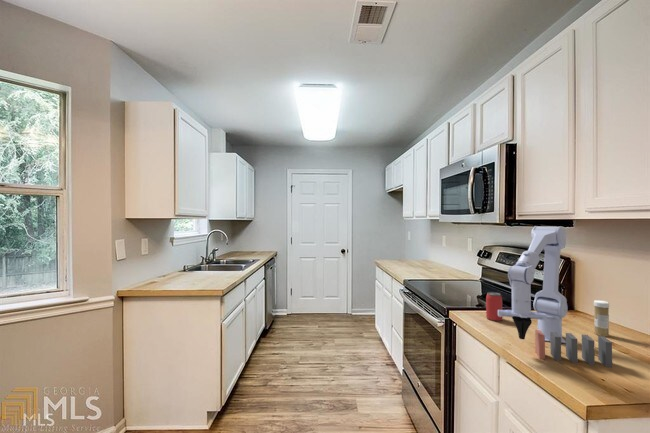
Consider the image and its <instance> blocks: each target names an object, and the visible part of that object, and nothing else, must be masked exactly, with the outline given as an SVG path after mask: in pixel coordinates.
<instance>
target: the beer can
mask: <svg viewBox="0 0 650 433" xmlns="http://www.w3.org/2000/svg"><path fill="white" fill-rule="evenodd" d="M485 303H486V304H485V311H486V313H485V315H486V316H485V317H486V318H487V319H488V320H489V321H494V322H500V321H502V320H503V316H502V317H499V316H498V310H503V298H502V294H501V293H500V292H495V291H488V292H487V294H486V297H485Z"/></svg>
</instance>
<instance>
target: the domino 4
mask: <svg viewBox="0 0 650 433" xmlns="http://www.w3.org/2000/svg"><path fill="white" fill-rule="evenodd" d="M597 340H598V341H597V343H598V346H597V349H598V350H597V352H598V356H597V357H598V361H599V362H600V363H601V364H603V366H604V367H605V368H613V342H612V341H610V340H609V339H608V338H607V337H604V336H599V335H597Z"/></svg>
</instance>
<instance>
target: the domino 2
mask: <svg viewBox="0 0 650 433" xmlns="http://www.w3.org/2000/svg"><path fill="white" fill-rule="evenodd" d="M565 341H566V343H565V357H566V358H567V359H568V360H569V361H570V362H571V363H572V364H578V360H579V358H578V355H579V354H578V352H579V350H578V338H577V337H576V336H575V335H574V334H572V333H571V332H569V333H568V332H565Z"/></svg>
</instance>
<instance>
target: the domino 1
mask: <svg viewBox="0 0 650 433" xmlns="http://www.w3.org/2000/svg"><path fill="white" fill-rule="evenodd" d="M549 343H550V346H549V347H550V351H549V352H550V355H551V357H552V358H553V359H554V361H555V362H556V361H557V362H562V343H561V337H560V336H559V335H558V334H557V333H556V332H551V331H550V341H549Z"/></svg>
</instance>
